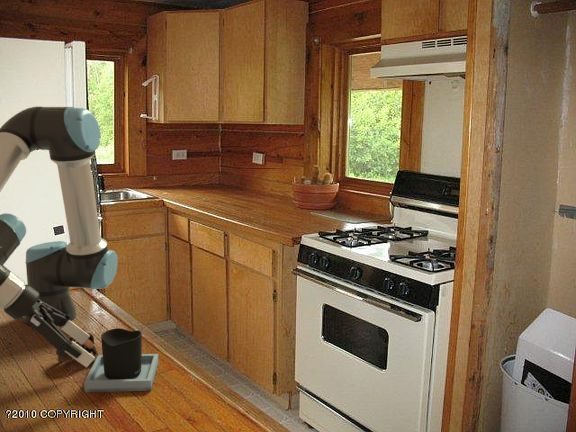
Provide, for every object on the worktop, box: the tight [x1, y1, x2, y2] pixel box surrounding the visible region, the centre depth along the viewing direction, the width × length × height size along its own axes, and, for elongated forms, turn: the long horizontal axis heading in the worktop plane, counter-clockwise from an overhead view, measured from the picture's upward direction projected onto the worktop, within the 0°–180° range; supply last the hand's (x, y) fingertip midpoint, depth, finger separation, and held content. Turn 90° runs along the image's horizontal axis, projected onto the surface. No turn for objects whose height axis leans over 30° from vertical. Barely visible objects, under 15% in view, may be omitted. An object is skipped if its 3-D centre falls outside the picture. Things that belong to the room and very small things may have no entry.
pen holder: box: [100, 327, 143, 380], centre depth 145 cm, size 9×9×10 cm
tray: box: [83, 353, 159, 393], centre depth 146 cm, size 15×15×2 cm
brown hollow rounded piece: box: [55, 331, 99, 363], centre depth 154 cm, size 12×10×8 cm
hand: (88, 350), depth 142 cm, fingers open, 13 cm apart
